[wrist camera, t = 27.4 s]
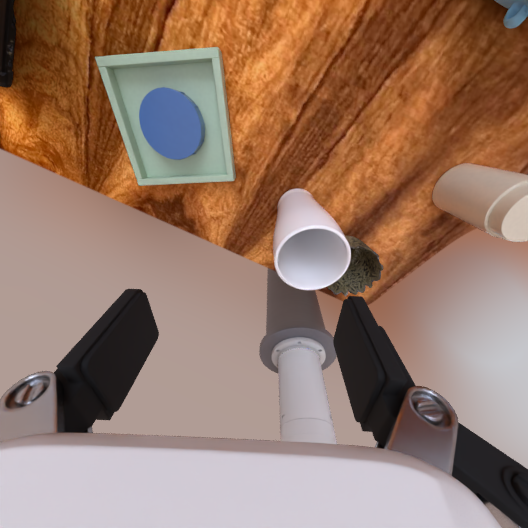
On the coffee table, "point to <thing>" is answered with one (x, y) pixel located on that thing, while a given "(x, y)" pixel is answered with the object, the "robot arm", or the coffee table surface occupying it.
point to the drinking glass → (308, 243)
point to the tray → (181, 79)
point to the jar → (486, 199)
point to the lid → (171, 123)
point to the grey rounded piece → (358, 269)
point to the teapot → (514, 12)
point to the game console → (7, 41)
